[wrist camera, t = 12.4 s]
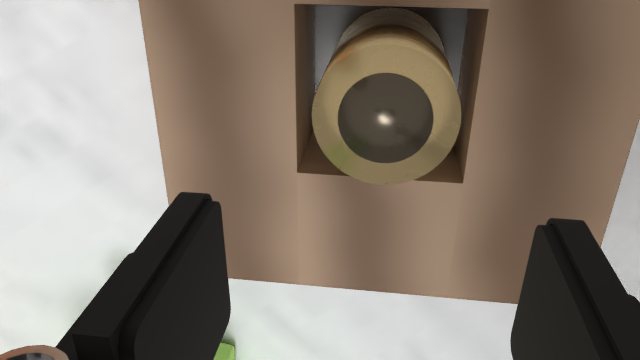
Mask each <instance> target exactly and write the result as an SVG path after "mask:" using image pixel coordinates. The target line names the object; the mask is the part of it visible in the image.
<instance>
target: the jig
mask: <svg viewBox="0 0 640 360" xmlns="http://www.w3.org/2000/svg"><path fill="white" fill-rule="evenodd" d="M314 4H326V5H363V6H399V7H436V8H468V15H467V23H466V30H465V38H464V46H463V53H462V61H461V69H460V76H459V84H458V95H459V99H460V104H461V124H460V129H459V133H458V136H457V139H456V141H455V143H454V145H453V147H452V149H451V151H450V152H449V153H448V155H447V156H446V157H445V159H444V160H443V161H442V162H441V163H440V164H439V165H438V166H436V167H435V168H434V169H433V170H431V171H430V172H428V173H427V174H425V175H423V176H421V177H419V178H417V179H414V180H412V181H409V182H405V183H400V184H392V185H379V184H371V183H367V182H363V181H360V180H358V179H355V178H353V177H351V176H349V175H347V174H345V173H344V172H342V171H341V170H340V169H338V168H337V167H336V166H335V165H334V164H332V162H331V161H330V160H329V159H328V158H327V157H326V156H325V154H324V153H323V151H322V150H321V148H320V146H319V144H318V142H317V140H316V137H315V134H314V130H313V125H312V106H313V101H314ZM139 7H140V14H141V21H142V27H143V34H144V41H145V48H146V54H147V61H148V68H149V75H150V82H151V88H152V95H153V102H154V109H155V115H156V122H157V129H158V136H159V142H160V149H161V156H162V163H163V169H164V176H165V183H166V190H167V197H168V203H169V206H170V204H171V203H172V202H173V200H174V199H175V198H176V197H177V195H178V194H179V193H180V192H194V193H208V194H210V195H211V197H212V200H213V201H218V202H219V203H220V205H221V210H222V221H223V231H224V242H225V253H226V263H227V274H228V278H233V279H244V280H255V281H266V282H277V283H288V284H300V285H311V286H322V287H333V288H344V289H355V290H367V291H378V292H389V293H400V294H411V295H422V296H434V297H445V298H456V299H467V300H478V301H489V302H501V303H512V304H518V302H519V298H520V293H521V289H522V284H523V280H524V276H525V271H526V267H527V263H528V258H529V254H530V250H531V245H532V241H533V237H534V232H535V229H536V227H537V226H538V225H546V223H547V221H548V219H550V218H560V219H574V220H583V221H584V222H585V223H586V224H587V226H588V228H589V229H590V231H591V233H592V234H593V236H594V238H595V239H596V241H597V243H598V245H599V246H600V247H601V244H602V241H603V237H604V234H605V231H606V227H607V224H608V221H609V217H610V214H611V211H612V208H613V204H614V201H615V198H616V194H617V191H618V188H619V185H620V181H621V178H622V175H623V171H624V168H625V165H626V161H627V158H628V155H629V152H630V148H631V145H632V142H633V138H634V135H635V132H636V128H637V125H638V122H639V119H640V0H139Z"/></svg>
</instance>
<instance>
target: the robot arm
mask: <svg viewBox="0 0 640 360" xmlns="http://www.w3.org/2000/svg"><path fill="white" fill-rule="evenodd" d="M230 310H231V306H230V295H229V284H228V274H227V263H226V253H225V242H224V231H223V221H222V210H221V205H220V203H219V202H218V201H213V200H212V197H211V195H210V194H208V193H194V192H180V193H179V194H178V195H177V197H176V198H175V199H174V200H173V202H172V203H171V204H170V206H169V207H168V208H167V210H166V211H165V212H164V213H163V215H162V216H161V217H160V219H159V220H158V221H157V223H156V224H155V225H154V227H153V228H152V229H151V230H150V232H149V233H148V234H147V236H146V237H145V238H144V240H143V241H142V242H141V243H140V245H139V246H138V247H137V249H136V250H135V251H134V253H130V254H129V255H128V256H127V257H126V258H125V259H124V260H123V261H122V262H121V264H120V265H119V266H118V268H117V269H116V270H115V271H114V273H113V274H112V275H111V277H110V278H109V279H108V280H107V282H106V283H105V284H104V286H103V287H102V288H101V289H100V291H99V292H98V293H97V295H96V296H95V297H94V298H93V300H92V301H91V302H90V303H89V305H88V306H87V307H86V309H85V310H84V311H83V312H82V314H81V315H80V316H79V318H78V319H77V320H76V321H75V323H74V324H73V325H72V327H71V328H70V329H69V330H68V332H67V333H66V334H65V336H64V337H63V338H62V339H61V341H60V342H59V343H58V345H57V346H56V347H51V346H46V345H35V346H26V347H22V348H18V349H14V350H11V351H8V352H6V353H4V354H2V355H0V360H214V357H215V355H216V352H217V350H218V347H219V345H220V342H221V340H222V338H223V335H224V333H225V330H226V328H227V325H228V322H229V318H230ZM511 352H512V357H513V360H640V302H639V301H638V300H637V299H636V298H635V297H634V296H631V295H628V294H627V292H626V290H625V289H624V287H623V285H622V284H621V282H620V280H619V279H618V277H617V275H616V273H615V272H614V270H613V268H612V267H611V265H610V263H609V262H608V260H607V258H606V256H605V255H604V253H603V251H602V250H601V248H600V246H599V245H598V243H597V241H596V239H595V238H594V236H593V234H592V233H591V231H590V229H589V228H588V226H587V224H586V223H585V222H584V221H583V220H574V219H560V218H550V219H548V221H547V223H546V225H538V226H537V227H536V229H535V232H534V237H533V241H532V245H531V250H530V254H529V258H528V263H527V267H526V271H525V276H524V280H523V284H522V289H521V293H520V298H519V302H518V306H517V311H516V315H515V319H514V324H513V328H512V333H511Z"/></svg>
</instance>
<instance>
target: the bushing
mask: <svg viewBox="0 0 640 360" xmlns="http://www.w3.org/2000/svg"><path fill="white" fill-rule="evenodd" d="M460 124H461V104H460V99H459V95H458V92H457V89H456V86H455V82H454V79H453V76H452V73H451V70H450V66H449V63H448V60H447V57H446V54H445V50H444V47H443V44H442V42H441V39H440V37H439V35H438V33H437V32H436V30H435V29H434V28H433V26H432V25H431V24H430V23H429V22H428V21H426V20H425V19H424V18H423V17H421V16H419V15H418V14H416V13H414V12H411V11H409V10H405V9H401V8H382V9H377V10H373V11H370V12H368V13H366V14H364V15H362V16H361V17H359V18H357V19H356V20H355V21H354V22H353V23H351V24H350V26H349V27H348V28H347V29H346V30H345V32H344V33H343V35H342V36H341V38H340V40H339V42H338V44H337V46H336V49H335V51H334V53H333V55H332V57H331V60H330V62H329V64H328V66H327V68H326V71H325V73H324V75H323V77H322V79H321V82H320V84H319V86H318V88H317V91H316V94H315V97H314V101H313V106H312V125H313V130H314V134H315V137H316V140H317V142H318V144H319V146H320V148H321V150H322V151H323V153H324V154H325V156H326V157H327V158H328V159H329V160H330V161H331V162H332V164H334V165H335V166H336V167H337V168H338V169H340V170H341V171H342V172H344V173H345V174H347V175H349V176H351V177H353V178H355V179H358V180H360V181H363V182H367V183H371V184H379V185H392V184H400V183H405V182H409V181H412V180H414V179H417V178H419V177H421V176H423V175H425V174H427V173H428V172H430V171H431V170H433V169H434V168H435V167H436V166H438V165H439V164H440V163H441V162H442V161H443V160H444V159H445V157H446V156H447V155H448V153H449V152H450V151H451V149H452V147H453V145H454V143H455V141H456V139H457V136H458V133H459V129H460Z"/></svg>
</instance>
